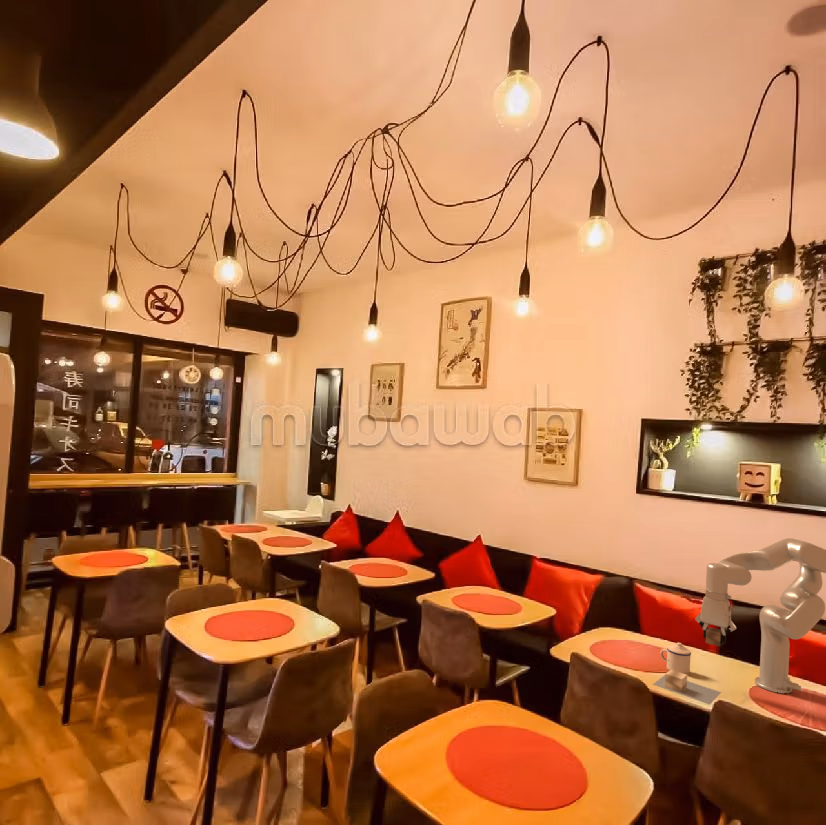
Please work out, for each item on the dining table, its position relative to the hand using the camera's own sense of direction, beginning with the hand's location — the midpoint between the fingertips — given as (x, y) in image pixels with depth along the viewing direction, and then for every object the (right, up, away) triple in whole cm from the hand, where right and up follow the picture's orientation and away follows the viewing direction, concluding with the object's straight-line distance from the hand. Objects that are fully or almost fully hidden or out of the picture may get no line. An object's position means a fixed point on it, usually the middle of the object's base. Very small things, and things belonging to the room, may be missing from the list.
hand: (714, 641), depth 221 cm
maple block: (-19, -14, -7) cm, 25 cm away
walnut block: (0, -1, 0) cm, 1 cm away
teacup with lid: (-10, -17, +12) cm, 23 cm away
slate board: (-15, -16, -7) cm, 23 cm away
